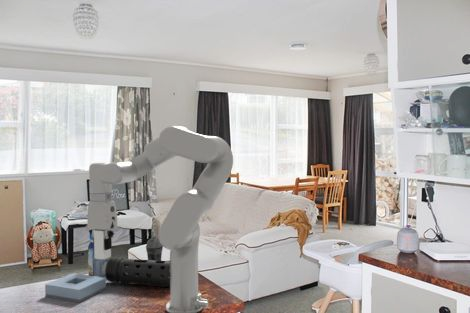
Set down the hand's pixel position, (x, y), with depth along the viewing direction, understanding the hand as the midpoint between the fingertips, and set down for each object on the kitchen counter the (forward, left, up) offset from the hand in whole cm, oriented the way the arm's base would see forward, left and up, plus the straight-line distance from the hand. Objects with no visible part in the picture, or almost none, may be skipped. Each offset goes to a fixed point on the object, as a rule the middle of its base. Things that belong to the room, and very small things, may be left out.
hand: (102, 248), depth 147 cm
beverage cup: (-1, -32, -19) cm, 37 cm away
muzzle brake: (-3, -18, -19) cm, 26 cm away
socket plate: (+14, -2, -19) cm, 24 cm away
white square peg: (0, 0, -3) cm, 3 cm away
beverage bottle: (+17, -18, -19) cm, 31 cm away
